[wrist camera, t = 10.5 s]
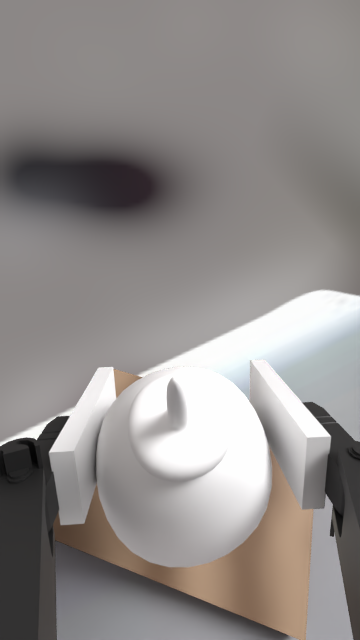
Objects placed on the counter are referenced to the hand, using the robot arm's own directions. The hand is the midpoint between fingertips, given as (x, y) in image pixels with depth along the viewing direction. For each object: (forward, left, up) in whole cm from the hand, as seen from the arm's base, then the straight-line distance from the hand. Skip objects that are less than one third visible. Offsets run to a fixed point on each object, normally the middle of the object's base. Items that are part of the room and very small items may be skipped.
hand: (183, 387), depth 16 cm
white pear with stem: (-1, +3, -8) cm, 8 cm away
